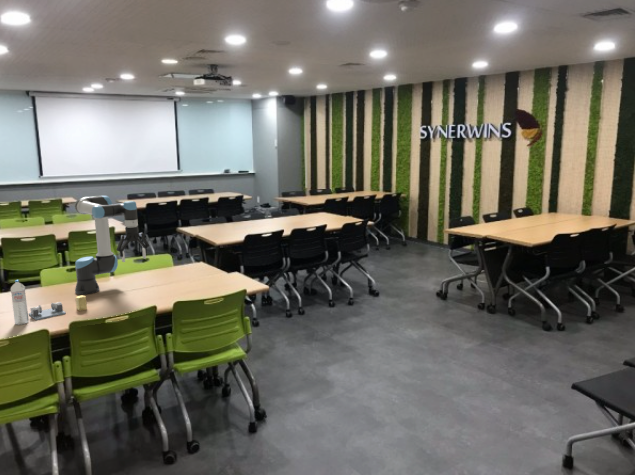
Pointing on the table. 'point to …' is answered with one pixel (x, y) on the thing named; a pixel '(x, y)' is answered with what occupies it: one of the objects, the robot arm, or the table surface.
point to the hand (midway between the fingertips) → (134, 260)
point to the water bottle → (19, 303)
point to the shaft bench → (47, 311)
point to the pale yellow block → (81, 302)
